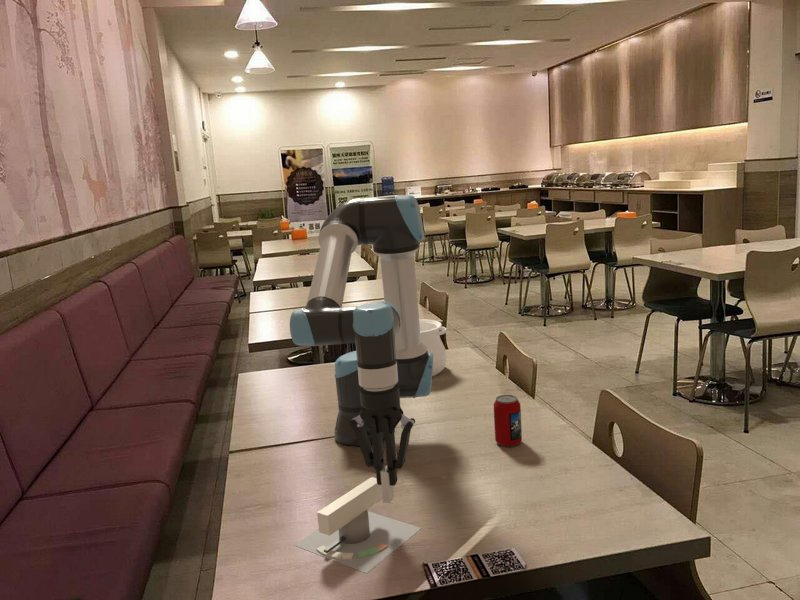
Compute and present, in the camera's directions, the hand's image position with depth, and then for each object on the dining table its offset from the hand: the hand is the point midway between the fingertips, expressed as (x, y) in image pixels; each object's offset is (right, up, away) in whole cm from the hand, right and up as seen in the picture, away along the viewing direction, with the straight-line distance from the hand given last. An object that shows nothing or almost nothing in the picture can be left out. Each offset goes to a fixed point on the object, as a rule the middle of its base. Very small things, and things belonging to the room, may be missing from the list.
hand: (388, 499), depth 129 cm
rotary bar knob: (-7, -7, -2) cm, 9 cm away
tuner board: (-6, -8, -2) cm, 10 cm away
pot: (+7, +13, +106) cm, 107 cm away
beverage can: (+30, +2, +39) cm, 49 cm away
